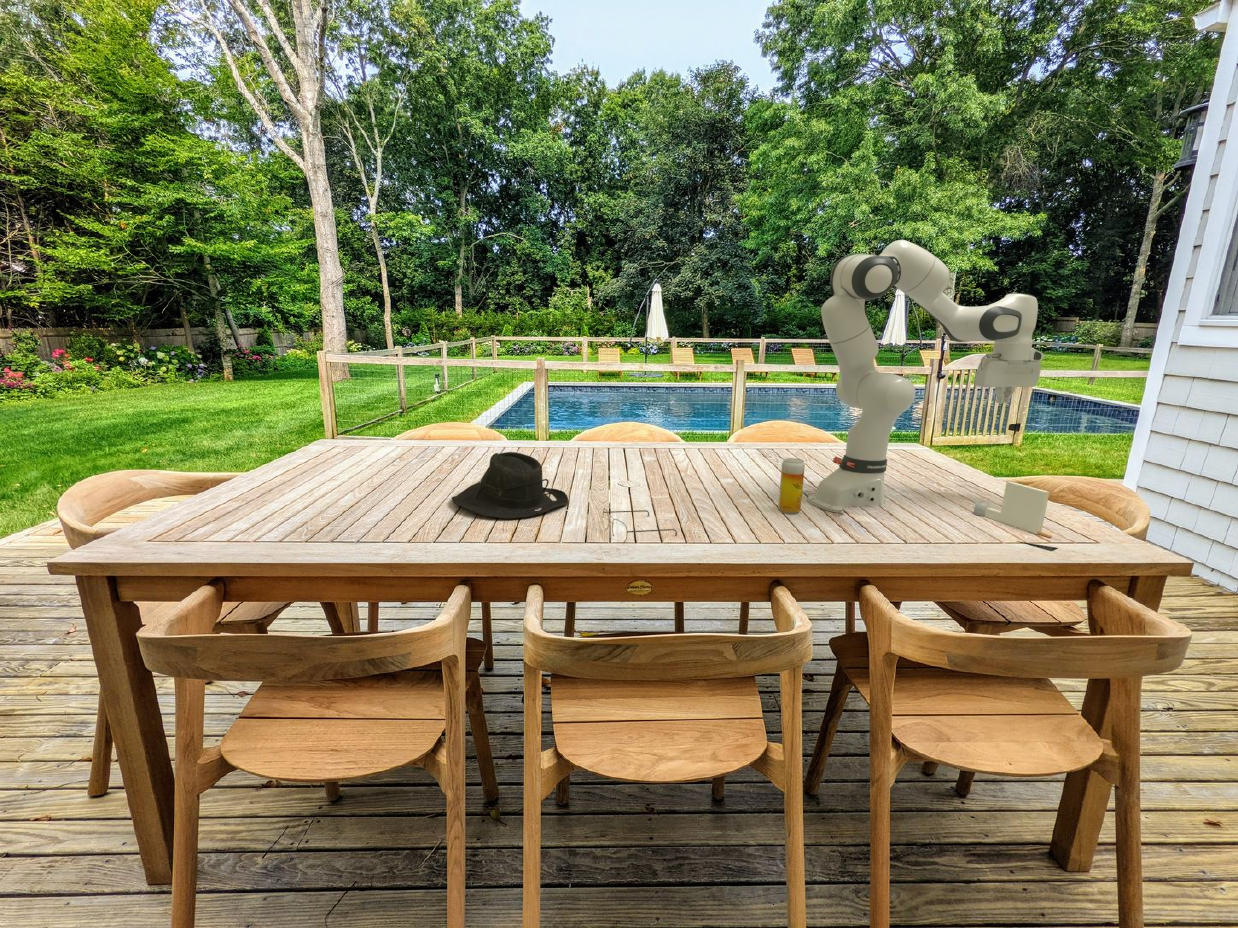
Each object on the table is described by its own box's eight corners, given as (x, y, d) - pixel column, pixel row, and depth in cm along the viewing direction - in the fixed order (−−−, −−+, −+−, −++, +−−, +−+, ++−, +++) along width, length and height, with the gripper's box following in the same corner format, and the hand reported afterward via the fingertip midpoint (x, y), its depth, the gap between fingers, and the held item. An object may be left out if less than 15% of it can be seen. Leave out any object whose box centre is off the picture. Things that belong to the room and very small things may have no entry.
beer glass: (801, 515, 155) (806, 463, 152) (778, 513, 156) (783, 461, 153) (798, 509, 161) (803, 458, 157) (777, 507, 162) (781, 457, 158)
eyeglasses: (597, 524, 146) (598, 506, 145) (649, 517, 152) (649, 500, 151) (621, 545, 132) (622, 525, 131) (677, 537, 138) (678, 518, 137)
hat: (536, 481, 186) (535, 439, 183) (586, 510, 157) (586, 461, 154) (439, 494, 170) (436, 448, 167) (475, 529, 141) (472, 474, 137)
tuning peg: (970, 512, 156) (977, 474, 153) (980, 511, 157) (986, 474, 154) (1045, 538, 137) (1054, 495, 134) (1056, 537, 138) (1065, 494, 135)
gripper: (993, 354, 151) (984, 404, 154) (1048, 354, 157) (1039, 403, 160) (972, 353, 157) (964, 402, 160) (1026, 353, 163) (1017, 400, 166)
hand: (1002, 402), depth 160 cm, fingers closed
